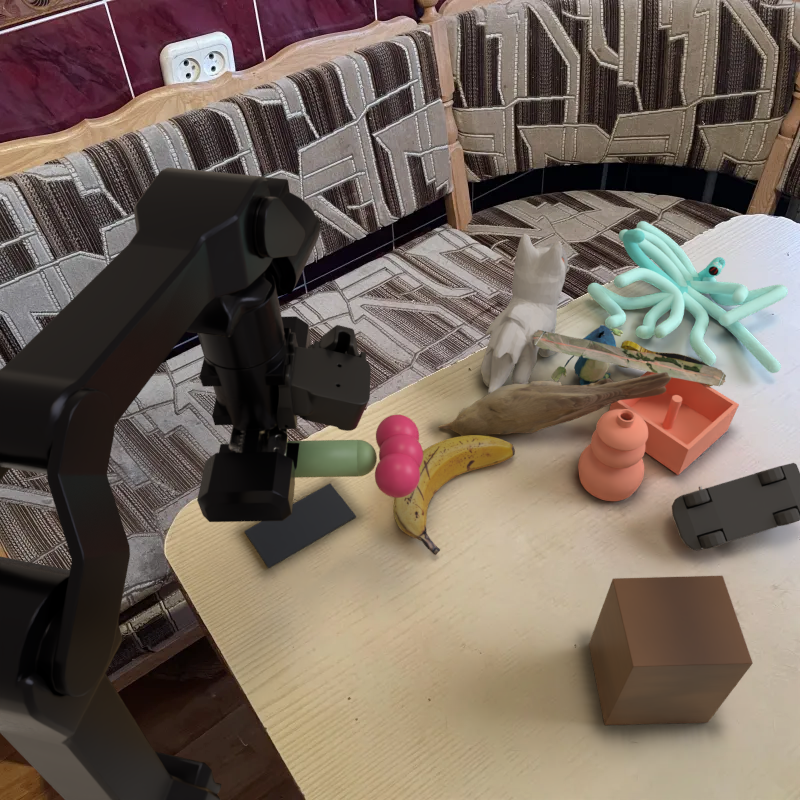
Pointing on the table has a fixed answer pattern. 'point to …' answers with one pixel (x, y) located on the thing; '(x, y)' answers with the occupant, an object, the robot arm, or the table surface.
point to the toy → (525, 314)
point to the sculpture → (547, 404)
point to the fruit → (445, 477)
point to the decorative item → (659, 353)
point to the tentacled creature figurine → (684, 295)
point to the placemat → (300, 525)
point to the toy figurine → (590, 367)
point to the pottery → (652, 436)
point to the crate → (667, 650)
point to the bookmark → (629, 358)
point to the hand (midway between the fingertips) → (276, 476)
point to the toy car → (738, 507)
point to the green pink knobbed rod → (368, 457)
